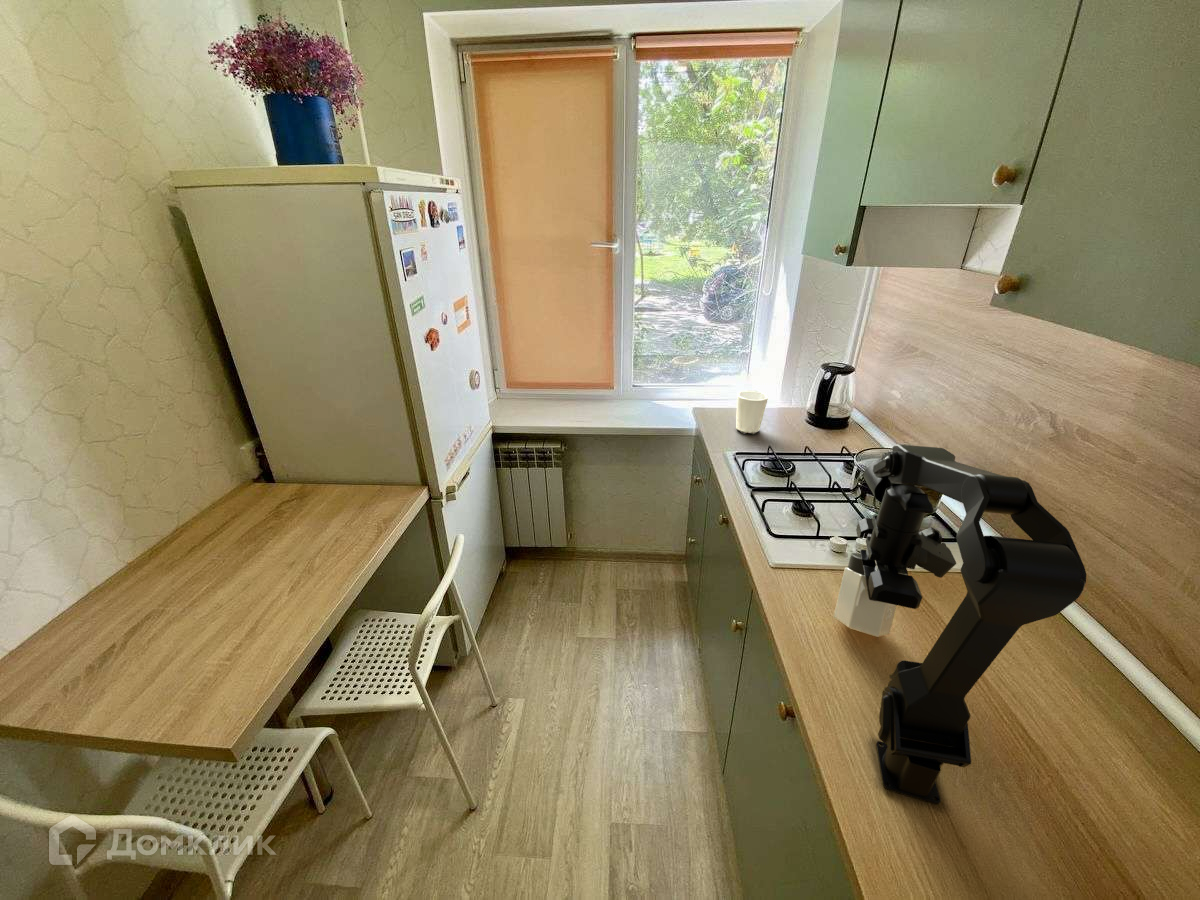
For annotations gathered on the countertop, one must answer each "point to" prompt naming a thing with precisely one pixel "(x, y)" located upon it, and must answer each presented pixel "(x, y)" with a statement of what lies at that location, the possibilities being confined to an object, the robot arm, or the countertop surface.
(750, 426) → the cup
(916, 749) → the robot arm
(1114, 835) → the countertop surface
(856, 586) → the jar
